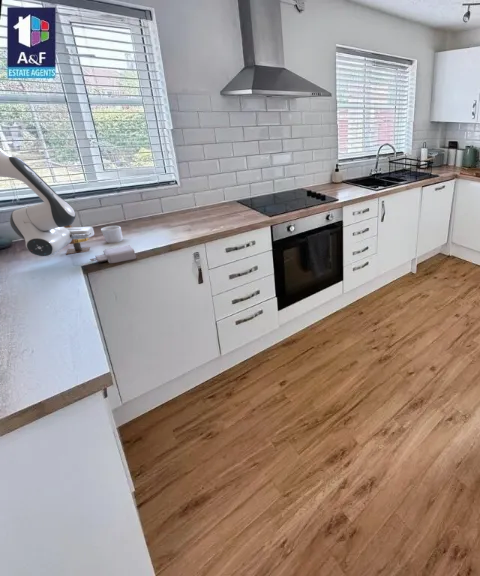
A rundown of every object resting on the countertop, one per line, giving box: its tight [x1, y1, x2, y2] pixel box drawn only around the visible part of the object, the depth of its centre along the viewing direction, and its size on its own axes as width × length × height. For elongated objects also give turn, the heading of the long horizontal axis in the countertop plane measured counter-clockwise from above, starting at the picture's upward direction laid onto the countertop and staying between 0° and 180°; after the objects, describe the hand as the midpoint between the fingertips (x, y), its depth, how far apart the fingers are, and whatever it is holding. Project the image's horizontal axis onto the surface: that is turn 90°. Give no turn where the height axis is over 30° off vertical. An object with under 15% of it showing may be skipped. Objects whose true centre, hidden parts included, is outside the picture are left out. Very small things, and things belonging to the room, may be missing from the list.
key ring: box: [64, 224, 89, 245], centre depth 160 cm, size 10×8×11 cm
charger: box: [89, 244, 137, 264], centre depth 154 cm, size 5×9×15 cm
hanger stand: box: [65, 239, 91, 256], centre depth 163 cm, size 8×8×10 cm
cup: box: [100, 225, 124, 244], centre depth 178 cm, size 11×8×8 cm
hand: (69, 229), depth 157 cm, fingers closed on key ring
